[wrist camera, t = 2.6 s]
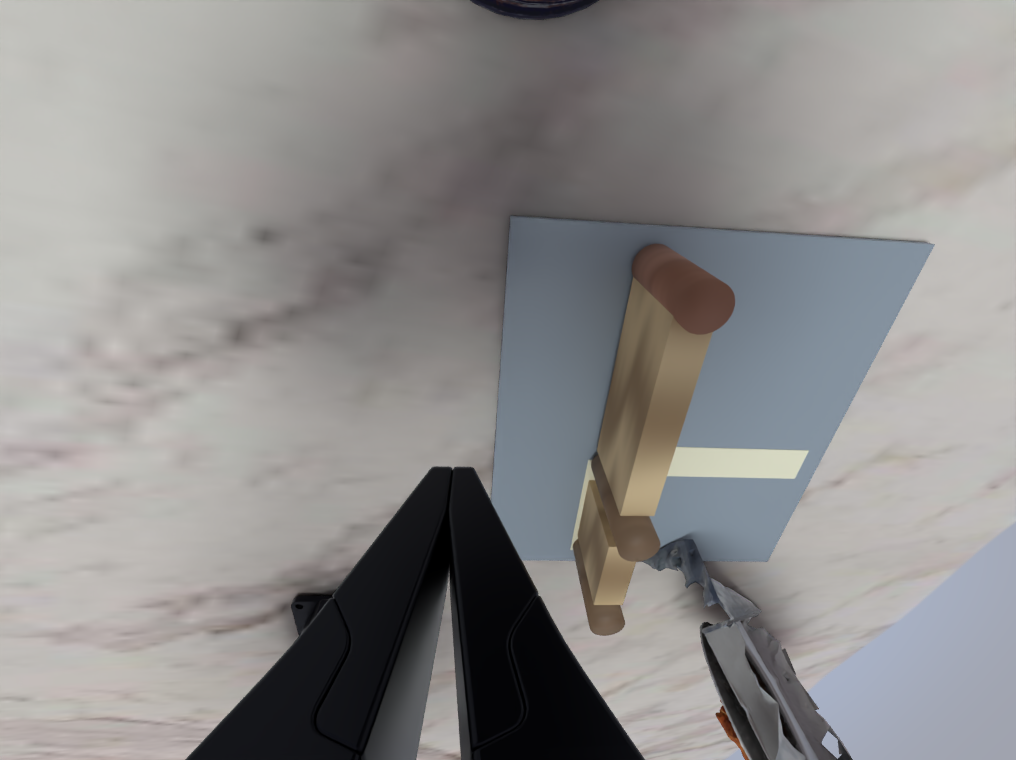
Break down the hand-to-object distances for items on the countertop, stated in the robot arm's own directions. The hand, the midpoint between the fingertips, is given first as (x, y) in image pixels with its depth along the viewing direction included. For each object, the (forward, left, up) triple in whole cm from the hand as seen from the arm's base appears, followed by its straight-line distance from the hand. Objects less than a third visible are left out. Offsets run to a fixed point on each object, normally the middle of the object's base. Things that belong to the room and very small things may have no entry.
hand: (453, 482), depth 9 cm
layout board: (-7, -11, -12) cm, 17 cm away
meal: (-21, -17, -12) cm, 29 cm away
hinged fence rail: (-3, -8, -11) cm, 14 cm away
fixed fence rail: (-13, -8, -11) cm, 19 cm away
